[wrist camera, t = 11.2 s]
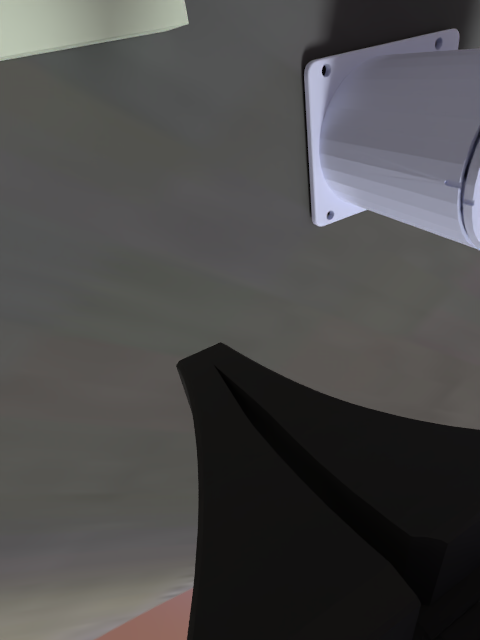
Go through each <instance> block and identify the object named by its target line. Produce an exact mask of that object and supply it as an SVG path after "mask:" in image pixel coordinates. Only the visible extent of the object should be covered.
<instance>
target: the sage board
mask: <svg viewBox="0 0 480 640" xmlns="http://www.w3.org/2000/svg"><path fill="white" fill-rule="evenodd" d="M187 24H189V23H188V17H187V12H186V7H185V1H184V0H0V61H3V60H8V59H14V58H19V57H25V56H30V55H36V54H42V53H47V52H53V51H58V50H64V49H69V48H75V47H81V46H86V45H92V44H97V43H103V42H108V41H114V40H119V39H125V38H131V37H136V36H142V35H147V34H153V33H158V32H164V31H168V30H171V29H174V28H177V27H180V26H184V25H187Z"/></svg>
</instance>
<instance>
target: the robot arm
mask: <svg viewBox="0 0 480 640" xmlns="http://www.w3.org/2000/svg"><path fill="white" fill-rule="evenodd" d="M435 42H436V46H435ZM458 46H459V31H458V30H457V29H447V30H443V31H438V32H434V33H429V34H425V35H421V36H416V37H412V38H407V39H403V40H399V41H394V42H390V43H385V44H381V45H377V46H372V47H368V48H363V49H359V50H355V51H350V52H346V53H341V54H337V55H333V56H328V57H324V58H319V59H315V60H312V61H310V62H309V63H308V64H307V65H306V67H305V70H304V82H305V100H306V118H307V136H308V155H309V173H310V191H311V209H312V221H313V223H314V224H315V225H317V226H325V225H327V224H330V223H333V222H335V221H338V220H341V219H343V218H346V217H349V216H351V215H354V214H357V213H359V212H362V211H365V210H370V211H373V212H376V213H379V214H381V215H384V216H387V217H390V218H392V219H395V220H398V221H401V222H404V223H406V224H409V225H412V226H415V227H417V228H420V229H423V230H426V231H429V232H431V233H434V234H437V235H440V236H442V237H445V238H448V239H451V240H454V241H456V242H459V243H462V244H465V245H467V246H470V247H473V248H476V249H479V250H480V48H475V49H461V50H458ZM324 65H325V67H326V73H325V75H324V76H323V75H322V68H323V66H324ZM329 211H330V215H329V216H328V217H327V213H328V212H329ZM176 367H177V370H178V372H179V375H180V378H181V381H182V384H183V387H184V390H185V393H186V396H187V399H188V402H189V405H190V408H191V411H192V414H193V420H194V428H195V436H196V445H197V458H198V481H199V508H198V536H197V550H196V564H195V577H194V587H193V596H192V604H191V612H190V620H189V628H188V636H187V640H480V430H476V429H468V428H461V427H453V426H447V425H441V424H435V423H430V422H425V421H419V420H414V419H409V418H405V417H400V416H396V415H392V414H388V413H384V412H380V411H377V410H373V409H369V408H365V407H362V406H358V405H355V404H352V403H349V402H346V401H343V400H340V399H337V398H334V397H331V396H328V395H326V394H323V393H320V392H318V391H315V390H313V389H311V388H308V387H306V386H304V385H301V384H299V383H297V382H294V381H292V380H290V379H288V378H286V377H284V376H282V375H280V374H278V373H276V372H274V371H272V370H270V369H268V368H266V367H264V366H262V365H260V364H258V363H256V362H255V361H253V360H251V359H249V358H247V357H246V356H244V355H242V354H240V353H239V352H237V351H235V350H234V349H232V348H230V347H228V346H227V345H225V344H223V343H221V342H220V343H218V344H216V345H214V346H211V347H209V348H207V349H205V350H202V351H200V352H198V353H196V354H193V355H191V356H189V357H187V358H185V359H182V360H180V361H179V362H178V364H177V366H176Z"/></svg>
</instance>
